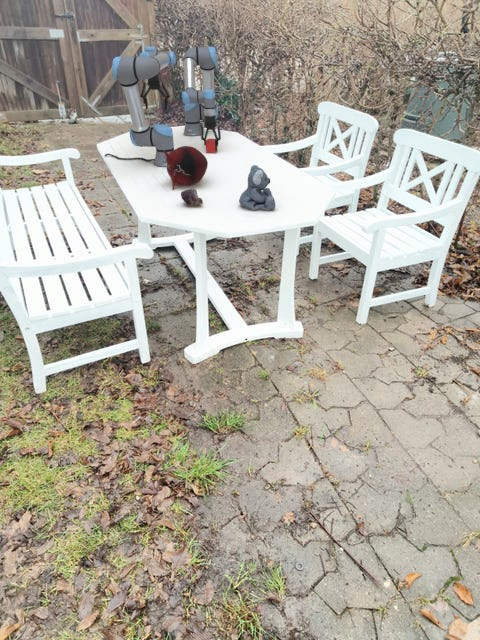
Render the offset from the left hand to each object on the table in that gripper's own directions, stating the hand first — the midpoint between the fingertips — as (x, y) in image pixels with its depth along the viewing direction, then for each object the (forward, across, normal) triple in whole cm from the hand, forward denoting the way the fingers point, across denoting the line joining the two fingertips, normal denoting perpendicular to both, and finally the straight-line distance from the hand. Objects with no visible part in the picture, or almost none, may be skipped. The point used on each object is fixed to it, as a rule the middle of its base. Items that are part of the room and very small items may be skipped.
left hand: (156, 109), depth 309 cm
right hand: (+26, -38, +2) cm, 46 cm away
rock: (+27, -46, +108) cm, 120 cm away
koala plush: (+27, -79, +106) cm, 135 cm away
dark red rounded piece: (+27, -36, +73) cm, 86 cm away
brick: (+27, -38, +2) cm, 46 cm away
